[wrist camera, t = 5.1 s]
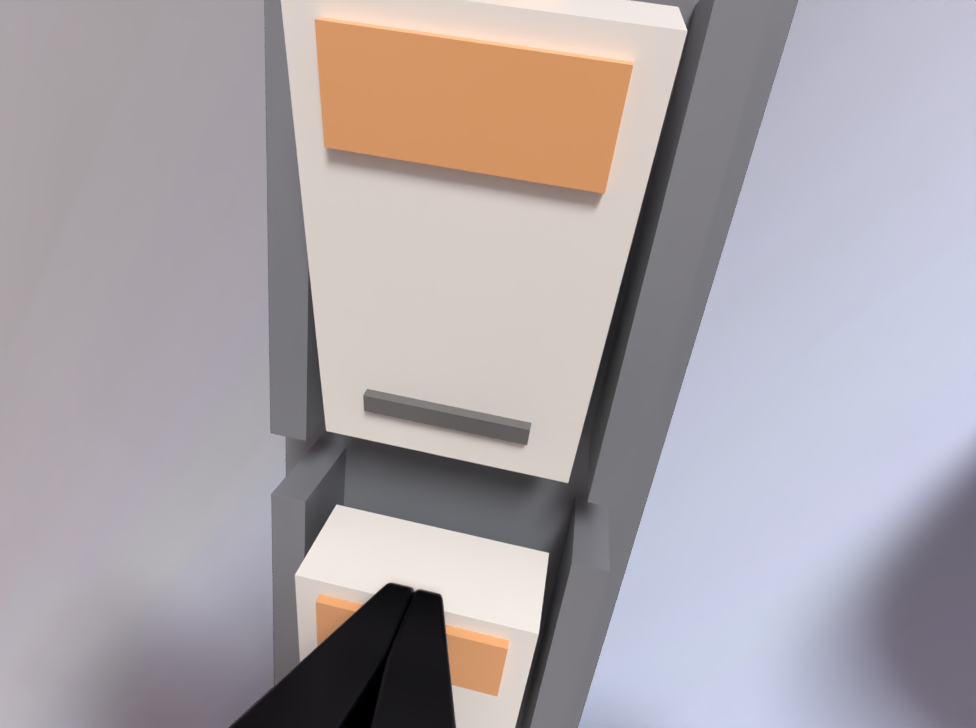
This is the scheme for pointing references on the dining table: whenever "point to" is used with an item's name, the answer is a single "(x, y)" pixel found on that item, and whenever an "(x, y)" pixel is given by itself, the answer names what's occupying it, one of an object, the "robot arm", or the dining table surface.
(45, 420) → the dining table surface
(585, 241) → the block
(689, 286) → the rocker switch panel
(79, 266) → the dining table surface
